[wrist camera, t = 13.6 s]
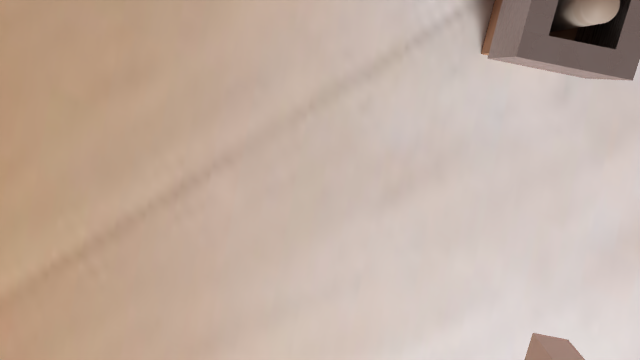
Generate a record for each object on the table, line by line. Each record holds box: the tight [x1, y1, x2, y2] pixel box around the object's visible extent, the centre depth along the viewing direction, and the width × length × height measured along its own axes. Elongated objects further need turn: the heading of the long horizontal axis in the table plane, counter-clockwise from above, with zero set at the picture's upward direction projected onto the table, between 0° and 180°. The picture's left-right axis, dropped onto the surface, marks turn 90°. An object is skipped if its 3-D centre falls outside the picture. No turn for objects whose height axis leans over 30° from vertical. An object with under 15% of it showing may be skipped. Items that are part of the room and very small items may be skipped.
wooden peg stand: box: [481, 0, 620, 55], centre depth 34 cm, size 6×6×11 cm
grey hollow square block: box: [488, 0, 640, 80], centre depth 33 cm, size 7×7×6 cm
